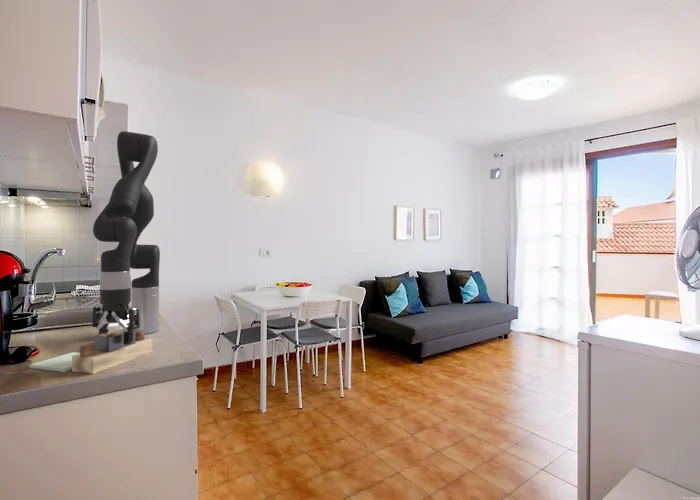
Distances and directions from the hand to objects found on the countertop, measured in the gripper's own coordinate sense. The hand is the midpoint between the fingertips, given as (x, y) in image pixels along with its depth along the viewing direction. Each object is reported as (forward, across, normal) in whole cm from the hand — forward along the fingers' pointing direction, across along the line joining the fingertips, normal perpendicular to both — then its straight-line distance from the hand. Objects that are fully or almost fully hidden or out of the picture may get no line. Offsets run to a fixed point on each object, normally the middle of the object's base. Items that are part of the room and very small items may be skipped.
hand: (115, 343), depth 106 cm
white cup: (+5, +14, -13) cm, 20 cm away
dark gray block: (+1, 0, 0) cm, 1 cm away
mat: (+5, +11, +5) cm, 13 cm away
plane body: (+5, 0, 0) cm, 5 cm away
